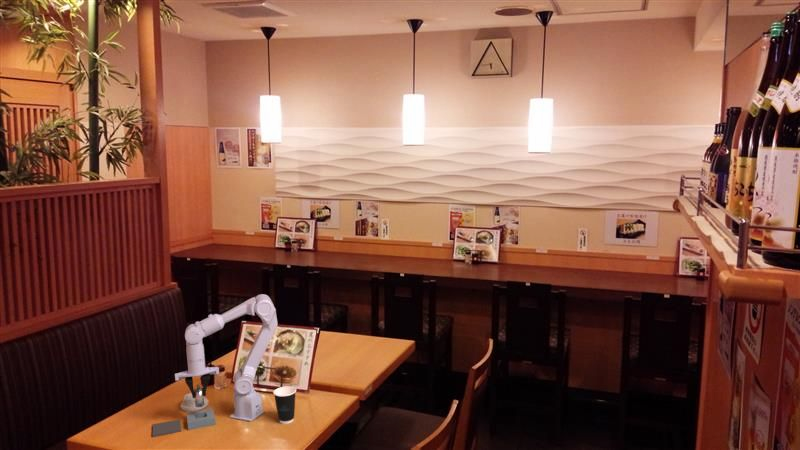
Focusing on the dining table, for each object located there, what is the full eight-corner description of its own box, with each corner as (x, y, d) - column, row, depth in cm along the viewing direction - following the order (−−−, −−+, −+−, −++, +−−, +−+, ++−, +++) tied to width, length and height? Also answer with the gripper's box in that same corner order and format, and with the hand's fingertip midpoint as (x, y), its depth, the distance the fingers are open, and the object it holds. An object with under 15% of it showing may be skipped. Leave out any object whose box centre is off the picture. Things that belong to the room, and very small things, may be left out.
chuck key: (203, 401, 211) (202, 383, 210) (204, 407, 206) (203, 389, 205) (195, 403, 210) (193, 384, 209) (195, 409, 205) (194, 390, 204)
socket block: (213, 414, 215) (212, 407, 214) (215, 424, 206) (214, 418, 206) (187, 419, 211) (186, 412, 211) (188, 430, 203) (187, 423, 203)
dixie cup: (292, 413, 213) (290, 384, 212) (301, 421, 207) (300, 391, 205) (271, 420, 209) (269, 390, 207) (280, 428, 202) (278, 397, 201)
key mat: (180, 420, 211) (180, 419, 211) (181, 431, 202) (180, 429, 202) (153, 425, 207) (153, 424, 207) (152, 437, 199) (152, 435, 199)
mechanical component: (175, 411, 219) (199, 412, 217) (174, 399, 219) (198, 401, 217) (190, 400, 229) (213, 401, 227) (189, 389, 228) (212, 390, 226)
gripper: (216, 352, 212) (219, 388, 214) (173, 358, 207) (176, 395, 209) (218, 358, 206) (221, 395, 208) (173, 365, 201) (177, 403, 202)
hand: (199, 396), depth 208 cm, fingers closed on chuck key, 3 cm apart
